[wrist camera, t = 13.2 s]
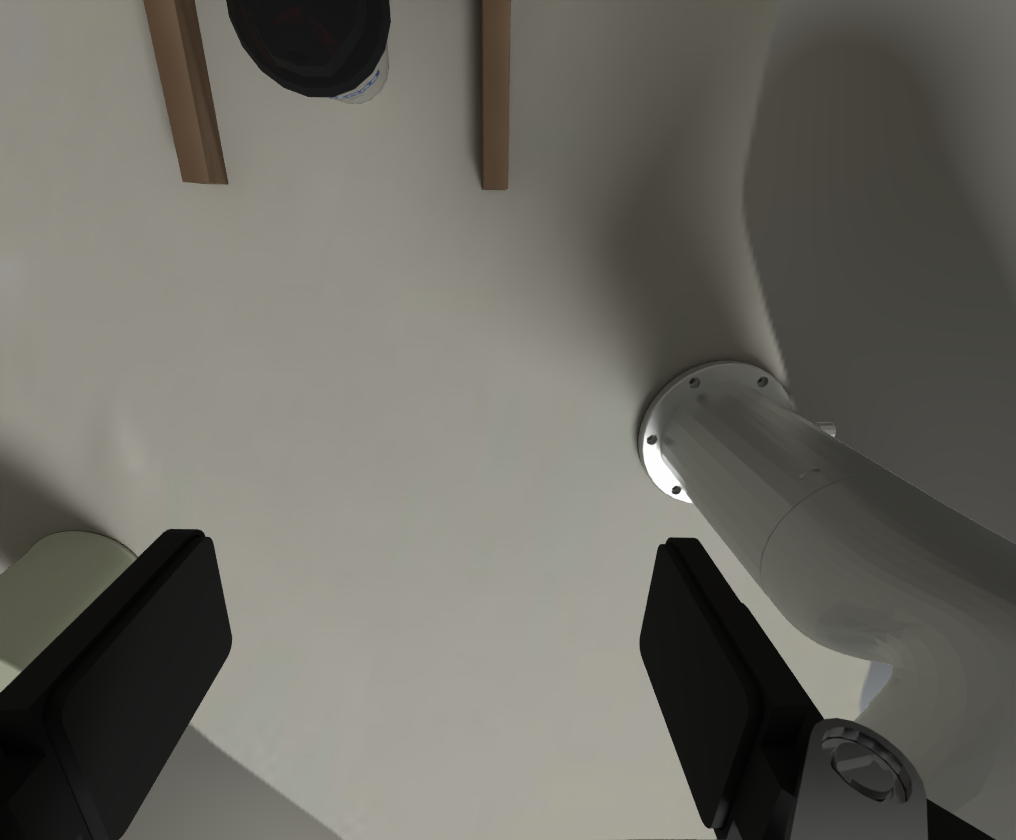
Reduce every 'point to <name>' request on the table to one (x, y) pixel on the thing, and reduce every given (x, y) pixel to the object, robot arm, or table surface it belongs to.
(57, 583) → the can
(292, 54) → the coffee cup
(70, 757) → the robot arm
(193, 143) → the bay
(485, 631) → the table surface
